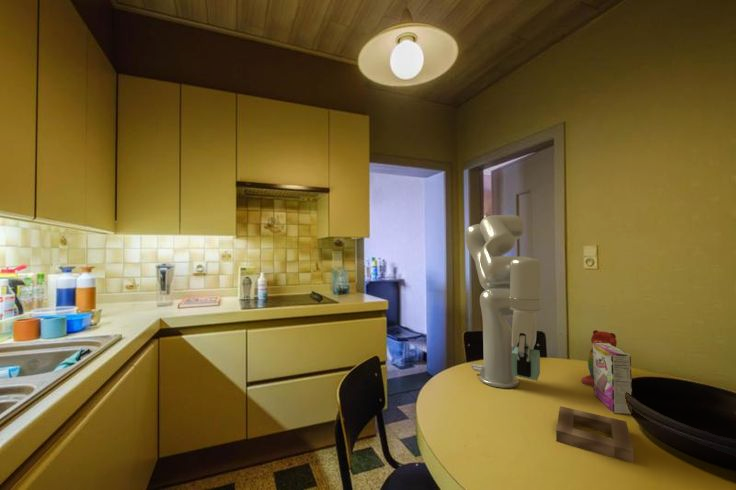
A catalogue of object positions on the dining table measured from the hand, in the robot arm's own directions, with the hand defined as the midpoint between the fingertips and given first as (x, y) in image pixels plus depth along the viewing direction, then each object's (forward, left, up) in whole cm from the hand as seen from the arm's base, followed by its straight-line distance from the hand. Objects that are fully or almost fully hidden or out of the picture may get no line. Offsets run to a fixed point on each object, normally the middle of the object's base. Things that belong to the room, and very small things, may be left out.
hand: (525, 370), depth 85 cm
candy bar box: (+19, +21, -13) cm, 32 cm away
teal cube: (0, 0, -1) cm, 1 cm away
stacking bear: (+18, +36, -13) cm, 43 cm away
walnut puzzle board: (+14, -1, -13) cm, 19 cm away
